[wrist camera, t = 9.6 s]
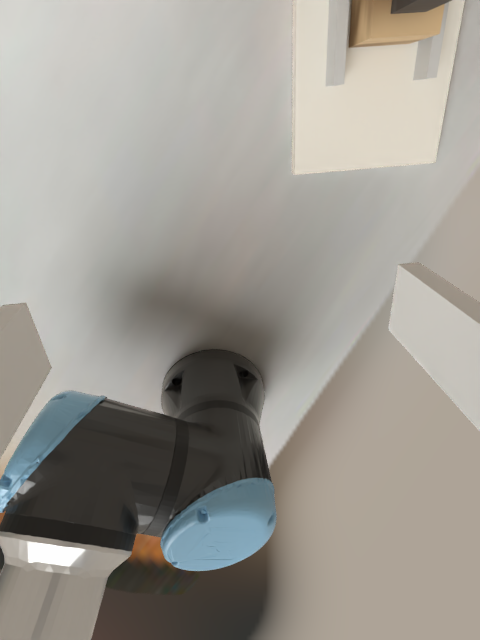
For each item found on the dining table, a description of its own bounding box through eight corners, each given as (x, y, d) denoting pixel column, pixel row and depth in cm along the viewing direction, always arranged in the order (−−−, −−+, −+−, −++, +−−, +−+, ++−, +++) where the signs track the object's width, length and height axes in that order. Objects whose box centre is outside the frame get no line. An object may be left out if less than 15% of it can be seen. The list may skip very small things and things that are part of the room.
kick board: (427, 161, 42) (448, 165, 39) (291, 173, 41) (300, 178, 38) (491, -207, 29) (532, -251, 26) (293, -202, 28) (307, -247, 25)
